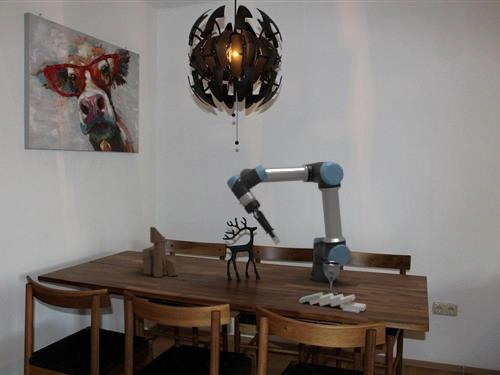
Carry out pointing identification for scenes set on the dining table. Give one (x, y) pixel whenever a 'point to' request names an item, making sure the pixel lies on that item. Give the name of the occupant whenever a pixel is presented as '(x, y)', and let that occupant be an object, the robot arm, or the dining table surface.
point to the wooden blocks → (158, 257)
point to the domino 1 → (311, 297)
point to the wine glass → (331, 273)
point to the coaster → (351, 310)
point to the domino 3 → (332, 300)
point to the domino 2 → (322, 298)
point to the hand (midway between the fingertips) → (278, 243)
